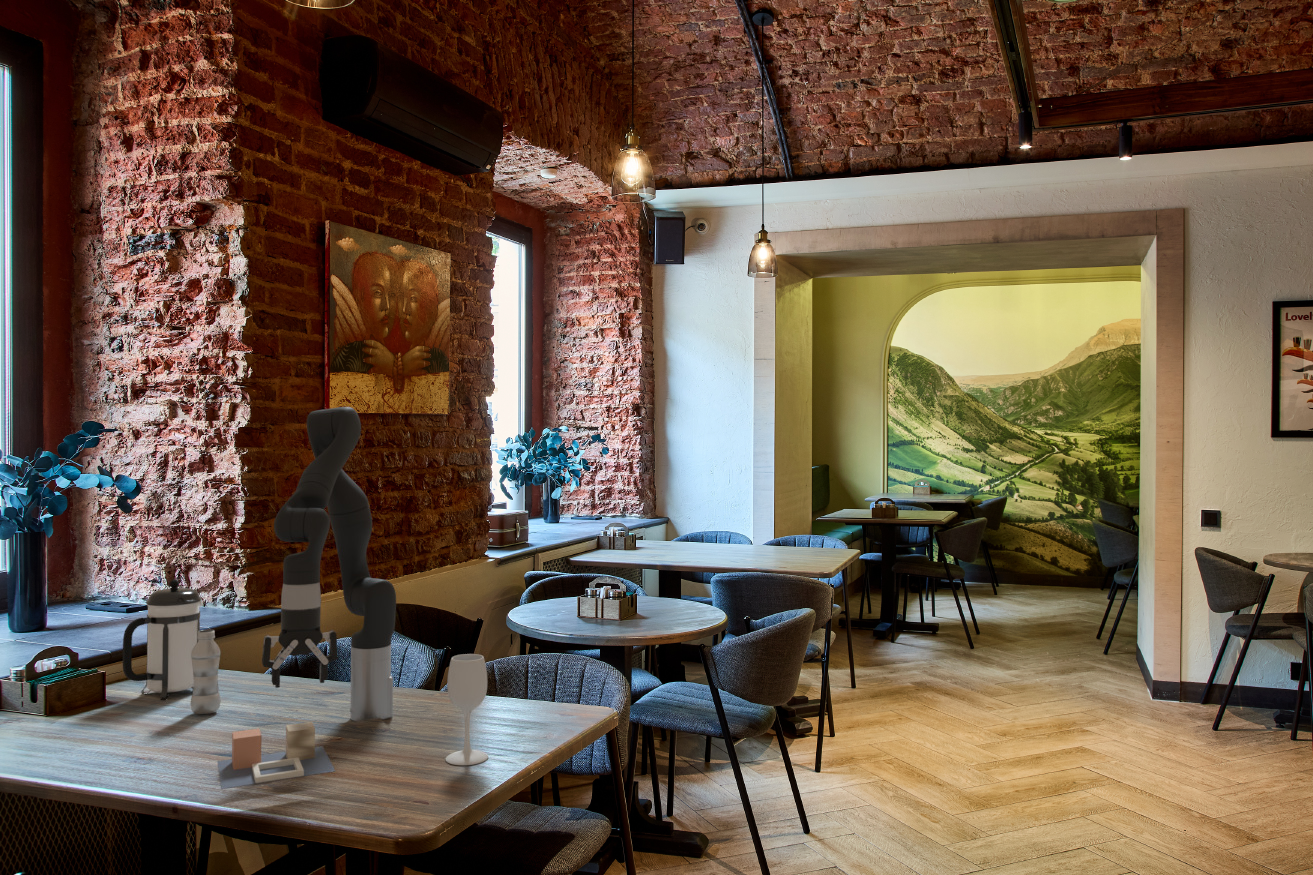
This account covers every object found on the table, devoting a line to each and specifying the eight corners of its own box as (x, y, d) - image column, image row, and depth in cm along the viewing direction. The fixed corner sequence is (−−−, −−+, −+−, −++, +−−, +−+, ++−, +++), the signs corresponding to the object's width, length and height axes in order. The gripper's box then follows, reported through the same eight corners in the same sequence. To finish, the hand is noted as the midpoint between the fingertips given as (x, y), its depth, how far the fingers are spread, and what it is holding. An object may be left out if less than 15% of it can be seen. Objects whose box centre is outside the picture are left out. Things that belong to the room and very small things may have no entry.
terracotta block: (259, 758, 183) (259, 728, 183) (261, 765, 179) (261, 735, 179) (231, 762, 181) (232, 731, 181) (233, 769, 176) (233, 738, 176)
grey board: (322, 753, 191) (322, 741, 191) (335, 778, 176) (335, 765, 176) (217, 768, 181) (217, 756, 181) (221, 796, 166) (221, 783, 166)
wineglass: (467, 768, 182) (468, 663, 182) (436, 760, 186) (437, 658, 187) (496, 756, 189) (497, 655, 189) (466, 749, 194) (467, 651, 194)
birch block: (311, 750, 188) (311, 721, 188) (314, 757, 183) (315, 728, 184) (285, 754, 185) (285, 725, 186) (288, 761, 181) (288, 731, 181)
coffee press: (151, 686, 245) (152, 575, 246) (213, 685, 247) (214, 575, 248) (120, 704, 228) (122, 585, 229) (187, 702, 230) (188, 584, 230)
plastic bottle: (208, 717, 216) (209, 634, 217) (183, 716, 218) (184, 632, 218) (226, 710, 223) (227, 629, 223) (202, 708, 224) (203, 627, 224)
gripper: (334, 600, 192) (333, 676, 191) (261, 604, 185) (260, 684, 185) (340, 605, 185) (339, 684, 185) (264, 610, 179) (263, 692, 178)
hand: (299, 684), depth 185 cm, fingers open, 8 cm apart
